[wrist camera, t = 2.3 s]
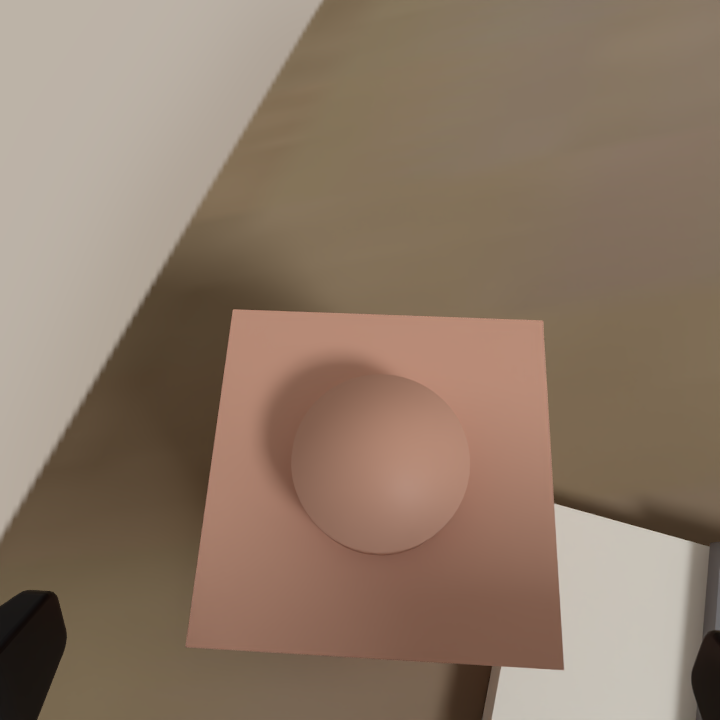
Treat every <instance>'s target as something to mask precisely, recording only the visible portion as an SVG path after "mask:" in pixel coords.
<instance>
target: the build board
mask: <svg viewBox="0 0 720 720" xmlns="http://www.w3.org/2000/svg"><path fill="white" fill-rule="evenodd" d="M554 511H555V527H556V544H557V560H558V577H559V593H560V610H561V626H562V643H563V659H564V670H551V669H535V668H518V667H502V666H492V670H491V675H490V680H489V686H488V691H487V696H486V701H485V707H484V712H483V717H482V720H701V716H700V713H699V710H698V706H697V703H696V700H695V697H694V693H693V690H692V685H691V672H692V668H693V665H694V662H695V659H696V657H697V654H698V651H699V648H700V645H701V642H702V640H703V637H704V635H705V634H706V633H707V632H708V631H710V630H720V542H714V543H710V547H709V546H705V545H702V544H698V543H695V542H691V541H687V540H684V539H680V538H677V537H673V536H669V535H666V534H662V533H658V532H655V531H651V530H648V529H644V528H640V527H637V526H633V525H630V524H626V523H622V522H619V521H615V520H612V519H608V518H604V517H601V516H597V515H594V514H590V513H586V512H583V511H579V510H576V509H572V508H568V507H565V506H561V505H558V504H554Z"/></svg>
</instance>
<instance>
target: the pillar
mask: <svg viewBox="0 0 720 720" xmlns="http://www.w3.org/2000/svg"><path fill="white" fill-rule="evenodd" d="M186 647H190V648H206V649H223V650H239V651H256V652H272V653H288V654H305V655H321V656H338V657H354V658H370V659H387V660H403V661H420V662H436V663H453V664H469V665H485V666H502V667H518V668H535V669H551V670H564V659H563V643H562V626H561V610H560V593H559V577H558V560H557V544H556V527H555V511H554V494H553V478H552V461H551V445H550V428H549V412H548V395H547V379H546V362H545V346H544V329H543V321H539V320H511V319H484V318H457V317H429V316H402V315H374V314H347V313H319V312H292V311H264V310H237V309H233V313H232V320H231V327H230V334H229V341H228V348H227V355H226V363H225V370H224V377H223V384H222V391H221V398H220V405H219V412H218V420H217V427H216V434H215V441H214V448H213V455H212V462H211V469H210V476H209V484H208V491H207V498H206V505H205V512H204V519H203V526H202V533H201V540H200V548H199V555H198V562H197V569H196V576H195V583H194V590H193V597H192V605H191V612H190V619H189V626H188V633H187V640H186Z"/></svg>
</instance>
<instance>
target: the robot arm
mask: <svg viewBox="0 0 720 720" xmlns="http://www.w3.org/2000/svg"><path fill="white" fill-rule="evenodd" d="M66 640H67V633H66V628H65V624H64V620H63V616H62V612H61V608H60V604H59V600H58V597H57V595H56V594H55V593H54V592H51V591H39V590H26V591H23V592H21V593H19V594H17V595H16V596H15V597H13V598H12V599H10V600H9V601H7V602H6V603H4V604H3V605H1V606H0V720H37V719H38V716H39V714H40V711H41V709H42V706H43V703H44V701H45V698H46V696H47V693H48V691H49V688H50V686H51V683H52V680H53V678H54V675H55V673H56V670H57V668H58V665H59V662H60V660H61V657H62V655H63V652H64V649H65V645H66ZM691 685H692V690H693V693H694V697H695V700H696V703H697V706H698V710H699V713H700V716H701V720H720V630H710V631H708V632H707V633H706V634H705V635H704V637H703V640H702V642H701V645H700V648H699V651H698V654H697V657H696V659H695V662H694V665H693V668H692V672H691Z"/></svg>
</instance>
